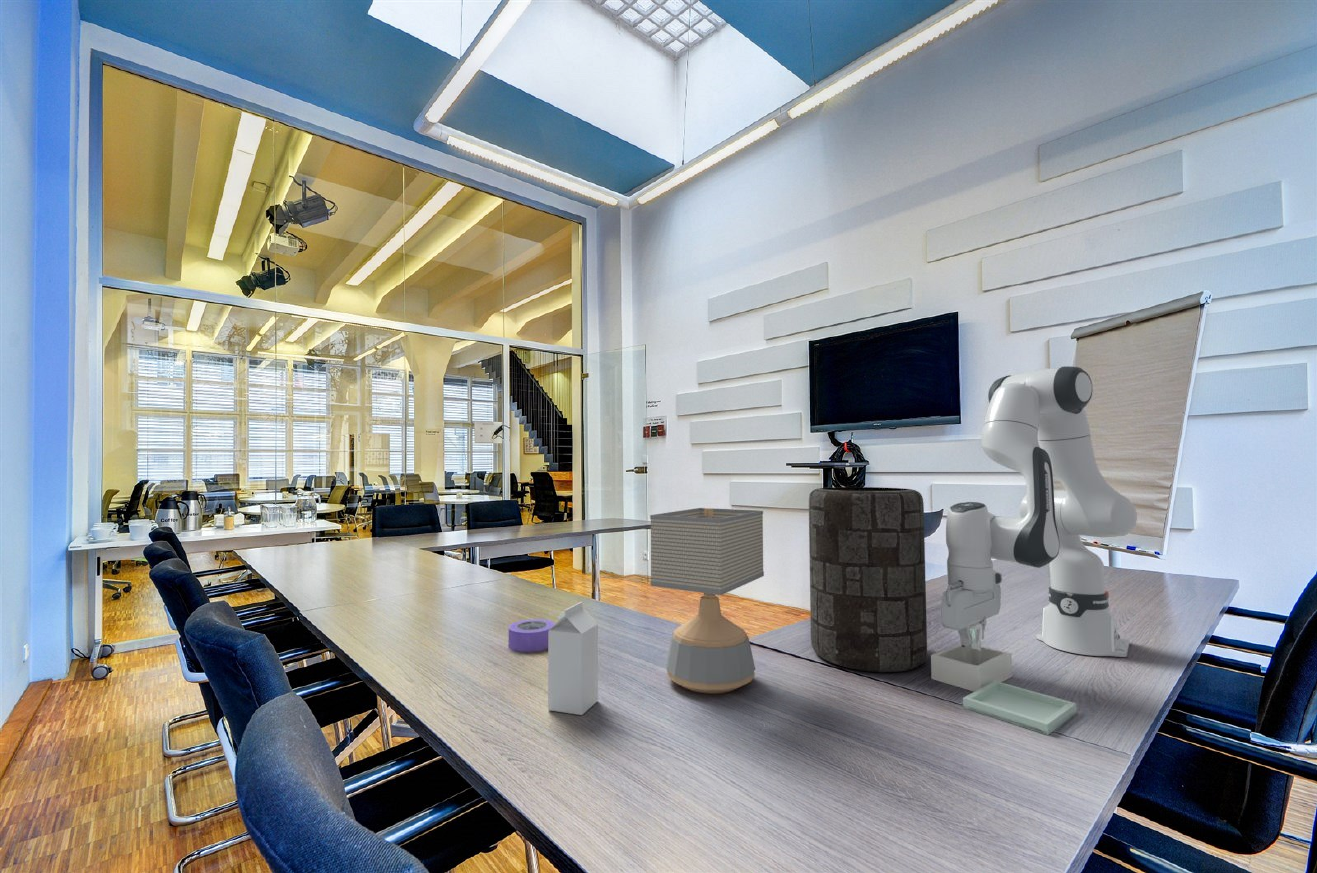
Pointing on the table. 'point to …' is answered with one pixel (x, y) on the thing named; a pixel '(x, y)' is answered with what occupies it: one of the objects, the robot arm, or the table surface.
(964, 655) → the milkshake
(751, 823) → the table surface
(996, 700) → the tray
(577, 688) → the milk carton
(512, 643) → the tape roll
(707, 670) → the desk lamp
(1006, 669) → the frame
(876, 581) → the planter
